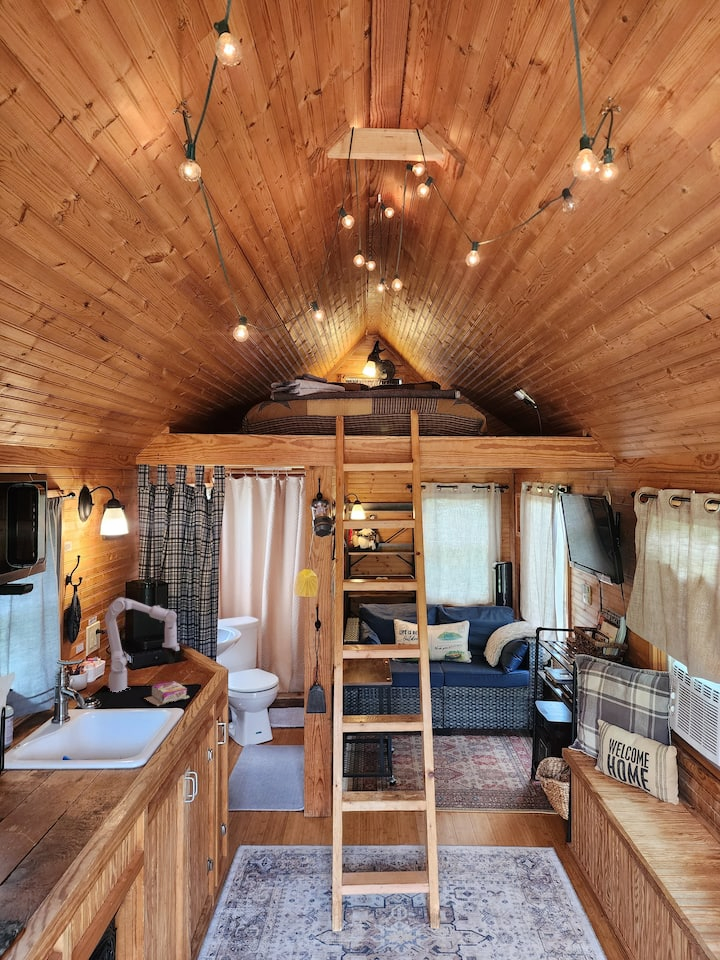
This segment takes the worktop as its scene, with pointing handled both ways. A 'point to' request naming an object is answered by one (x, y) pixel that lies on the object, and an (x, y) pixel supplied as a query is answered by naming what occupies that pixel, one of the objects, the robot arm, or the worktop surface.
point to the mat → (155, 700)
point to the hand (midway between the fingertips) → (171, 663)
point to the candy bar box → (169, 692)
